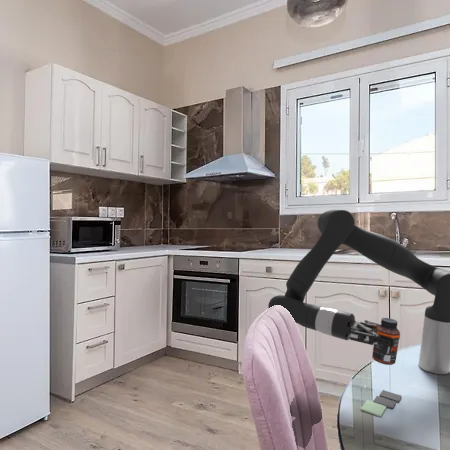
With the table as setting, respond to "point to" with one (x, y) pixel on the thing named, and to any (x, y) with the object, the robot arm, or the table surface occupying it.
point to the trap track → (381, 403)
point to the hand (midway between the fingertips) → (396, 339)
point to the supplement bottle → (384, 352)
